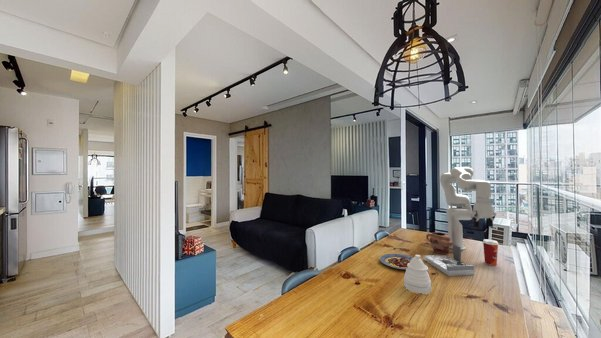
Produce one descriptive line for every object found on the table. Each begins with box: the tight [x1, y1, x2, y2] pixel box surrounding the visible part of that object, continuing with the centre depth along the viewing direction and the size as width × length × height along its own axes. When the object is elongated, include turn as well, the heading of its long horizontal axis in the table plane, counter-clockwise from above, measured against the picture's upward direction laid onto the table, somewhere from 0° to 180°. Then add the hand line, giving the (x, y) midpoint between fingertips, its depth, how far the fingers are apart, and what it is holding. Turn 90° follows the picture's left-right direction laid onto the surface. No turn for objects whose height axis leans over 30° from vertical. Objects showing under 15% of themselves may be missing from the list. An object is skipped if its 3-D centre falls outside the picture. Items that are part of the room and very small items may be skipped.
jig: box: [423, 254, 475, 277], centre depth 146 cm, size 24×16×5 cm, turn 4°
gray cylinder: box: [452, 245, 462, 262], centre depth 156 cm, size 4×4×10 cm
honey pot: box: [403, 254, 432, 295], centre depth 121 cm, size 13×13×18 cm
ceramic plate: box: [379, 253, 414, 270], centre depth 152 cm, size 26×26×3 cm
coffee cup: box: [482, 238, 499, 266], centre depth 151 cm, size 8×8×15 cm
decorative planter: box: [425, 231, 453, 255], centre depth 173 cm, size 20×12×14 cm, turn 31°
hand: (483, 226), depth 146 cm, fingers open, 9 cm apart
